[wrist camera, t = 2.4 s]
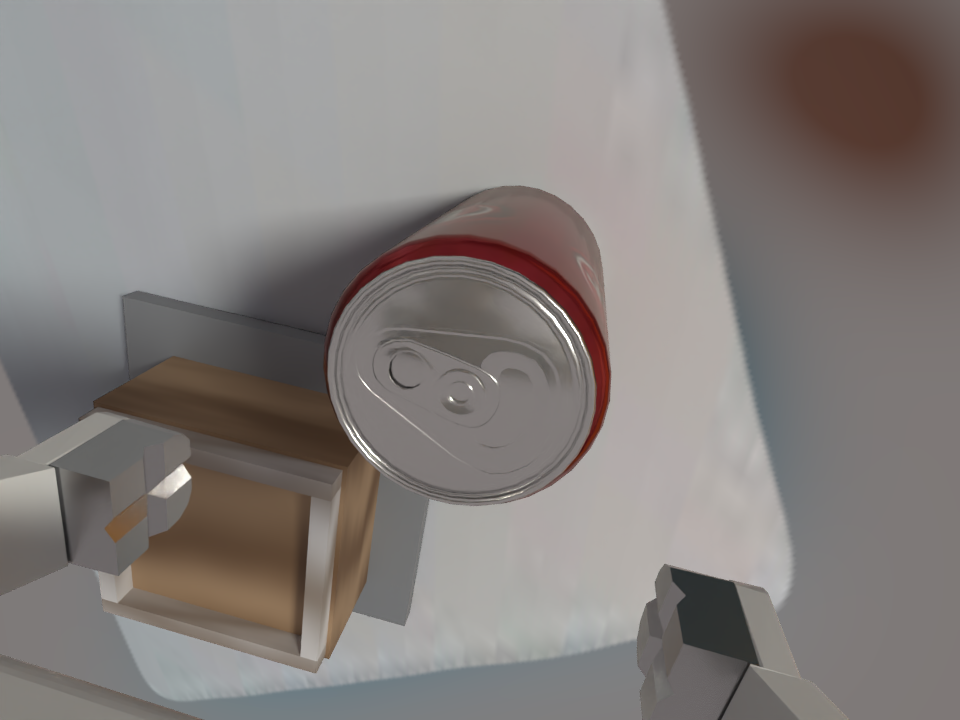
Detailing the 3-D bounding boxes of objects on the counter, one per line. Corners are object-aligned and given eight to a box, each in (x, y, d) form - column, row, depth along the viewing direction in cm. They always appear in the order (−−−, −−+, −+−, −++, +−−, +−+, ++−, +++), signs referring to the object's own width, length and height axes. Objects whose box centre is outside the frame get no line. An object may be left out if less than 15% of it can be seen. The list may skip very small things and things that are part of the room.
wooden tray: (173, 355, 28) (73, 412, 23) (388, 408, 27) (337, 482, 22) (181, 530, 33) (99, 612, 27) (366, 581, 32) (319, 677, 26)
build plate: (137, 290, 28) (122, 296, 27) (452, 365, 27) (447, 374, 26) (155, 541, 35) (144, 552, 34) (409, 612, 33) (404, 626, 32)
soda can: (636, 235, 23) (676, 338, 12) (550, 378, 26) (521, 562, 15) (476, 150, 23) (373, 179, 12) (407, 304, 26) (277, 436, 15)
